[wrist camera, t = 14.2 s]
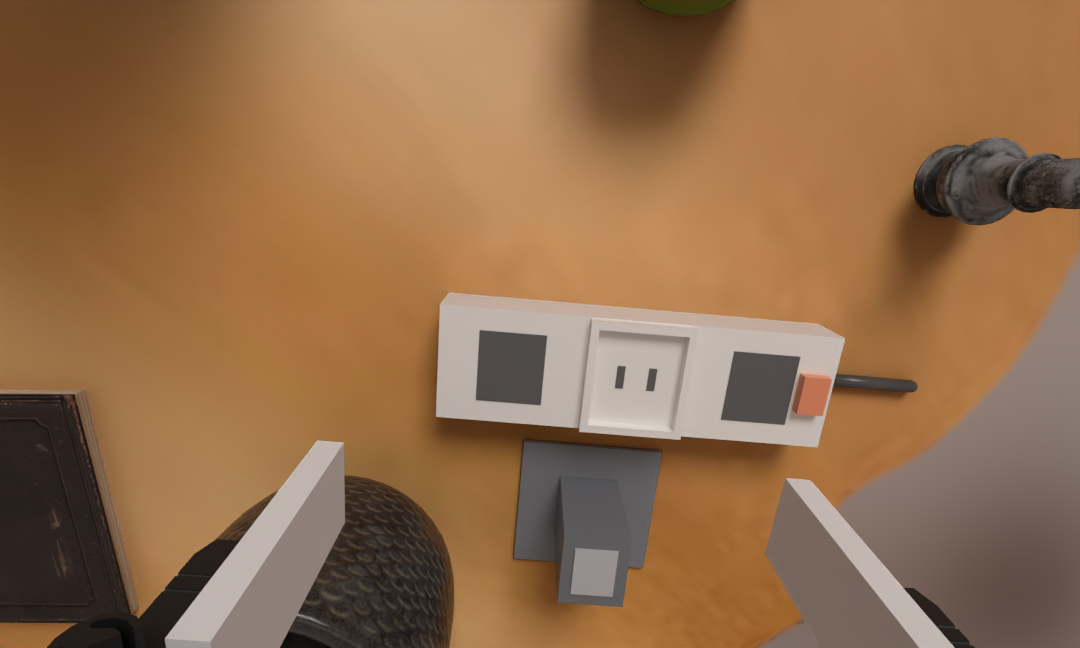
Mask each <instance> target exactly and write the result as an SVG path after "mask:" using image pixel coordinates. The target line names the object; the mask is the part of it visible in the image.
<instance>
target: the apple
mask: <svg viewBox="0 0 1080 648" xmlns="http://www.w3.org/2000/svg"><path fill="white" fill-rule="evenodd" d="M639 1H640V2H641V3H642V5H643V6H646V7H648V8H651V9H654V10H656V11H659V12H662V13H664V14H667V15H670V16H699V15H704V14H707V13H711V12H714V11H716V10H717V9H719V8H721V7H723V6H725V5H727V4H729V3H731V2H733V1H735V0H639Z"/></svg>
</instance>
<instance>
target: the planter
mask: <svg viewBox="0 0 1080 648" xmlns="http://www.w3.org/2000/svg"><path fill="white" fill-rule="evenodd" d="M344 483H345V523H344V525H343V527H342V529H341V531H340V533H339V535H338V537H337V539H336V541H335V543H334V544H333V546H332V548H331V550H330V552H329V554H328V556H327V558H326V560H325V562H324V564H323V566H322V568H321V569H320V571H319V573H318V575H317V577H316V579H315V581H314V583H313V585H312V587H311V589H310V591H309V593H308V594H307V596H306V598H305V600H304V602H303V604H302V606H301V608H300V610H299V612H298V614H297V616H296V618H295V620H294V621H293V623H292V625H291V627H290V629H289V631H288V633H287V635H286V637H285V639H284V641H283V643H282V645H281V646H280V648H449V646H450V638H451V631H452V623H453V613H454V581H453V572H452V567H451V562H450V557H449V553H448V550H447V547H446V545H445V542H444V540H443V537H442V535H441V533H440V532H439V530H438V529H437V527H436V525H435V524H434V522H433V521H432V520H431V518H430V517H429V516H428V515H427V514H426V512H425V511H424V510H423V509H422V508H421V507H420V506H419V505H418V504H416V503H415V502H414V501H413V500H412V499H411V498H409V497H408V496H406V495H405V494H403V493H401V492H400V491H398V490H397V489H395V488H392V487H390V486H388V485H386V484H384V483H381V482H378V481H374V480H371V479H368V478H362V477H356V476H344ZM278 491H279V490H278ZM278 491H276V492H275V493H273V494H271V495H269V496H268V497H266V498H265V499H263V500H262V501H260V502H259V503H257V504H256V505H254V506H253V507H251V508H250V509H249V510H247V511H246V512H245V513H243V514H242V515H241V516H240V517H239V518H238V519H237V520H235V521H234V522H233V523H232V524H231V525H230V526H229V527H228V528H227V529H226V530H225V531H224V532H223V533H222V534H221V535H220V536H219V537H218V538H217V539H222V540H236V541H240V540H241V539H242V538H243V536H244V535H245V534H246V532H247V531H248V530H249V529H250V527H251V526H252V525H253V523H254V522H255V521H256V519H257V518H258V517H259V516H260V514H261V513H262V512H263V510H264V509H265V508H266V506H267V505H268V504H269V503H270V501H271V500H272V499H273V497H274V496H275V495H276V493H277V492H278ZM164 591H165V590H164ZM141 616H142V615H141Z"/></svg>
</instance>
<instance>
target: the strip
mask: <svg viewBox="0 0 1080 648" xmlns="http://www.w3.org/2000/svg"><path fill="white" fill-rule="evenodd" d="M844 341H845V338H843V337H842V336H840V335H838V334H836V333H834V332H832V331H831V330H829V329H827V328H825V327H823V326H821V325H819V324H815V323H803V322H792V321H780V320H768V319H756V318H744V317H733V316H721V315H709V314H697V313H686V312H674V311H662V310H650V309H638V308H627V307H615V306H603V305H591V304H580V303H568V302H556V301H544V300H532V299H521V298H509V297H497V296H485V295H473V294H462V293H450V292H449V293H448V295H447V296H446V297H445V298H444V300H443V301H442V302H441V304H440V317H439V345H438V372H437V400H436V417H444V418H457V419H470V420H482V421H495V422H507V423H520V424H532V425H545V426H557V427H570V428H579V432H588V433H600V434H613V435H625V436H638V437H650V438H663V439H675V440H681V436H683V437H695V438H708V439H720V440H733V441H745V442H758V443H770V444H783V445H796V446H808V447H818V443H819V439H820V435H821V431H822V427H823V423H824V420H825V416H826V412H827V408H828V404H829V400H830V396H831V392H832V388H833V386H839V387H851V388H863V389H875V390H887V391H899V392H915V391H916V390H917V388H918V386H917V383H916V382H914V381H912V380H901V379H889V378H877V377H865V376H853V375H840V374H836V373H837V369H838V365H839V361H840V357H841V353H842V349H843V345H844Z"/></svg>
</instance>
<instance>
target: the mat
mask: <svg viewBox="0 0 1080 648" xmlns="http://www.w3.org/2000/svg"><path fill="white" fill-rule="evenodd" d="M661 457H662V451H661V450H649V449H636V448H624V447H611V446H598V445H586V444H573V443H560V442H548V441H535V440H524V446H523V458H522V469H521V481H520V492H519V504H518V515H517V527H516V538H515V550H514V559H525V560H539V561H552V562H556V556H555V526H556V516H557V506H558V496H559V486H560V476H570V477H585V478H599V479H613V480H617V481H618V485H619V489H620V493H621V497H622V501H623V505H624V509H625V513H626V517H627V521H628V525H629V529H630V533H631V537H632V545H631V552H630V559H629V566H628V567H633V568H643V564H644V558H645V552H646V546H647V540H648V534H649V528H650V522H651V516H652V510H653V504H654V498H655V492H656V486H657V480H658V474H659V468H660V462H661Z"/></svg>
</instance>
